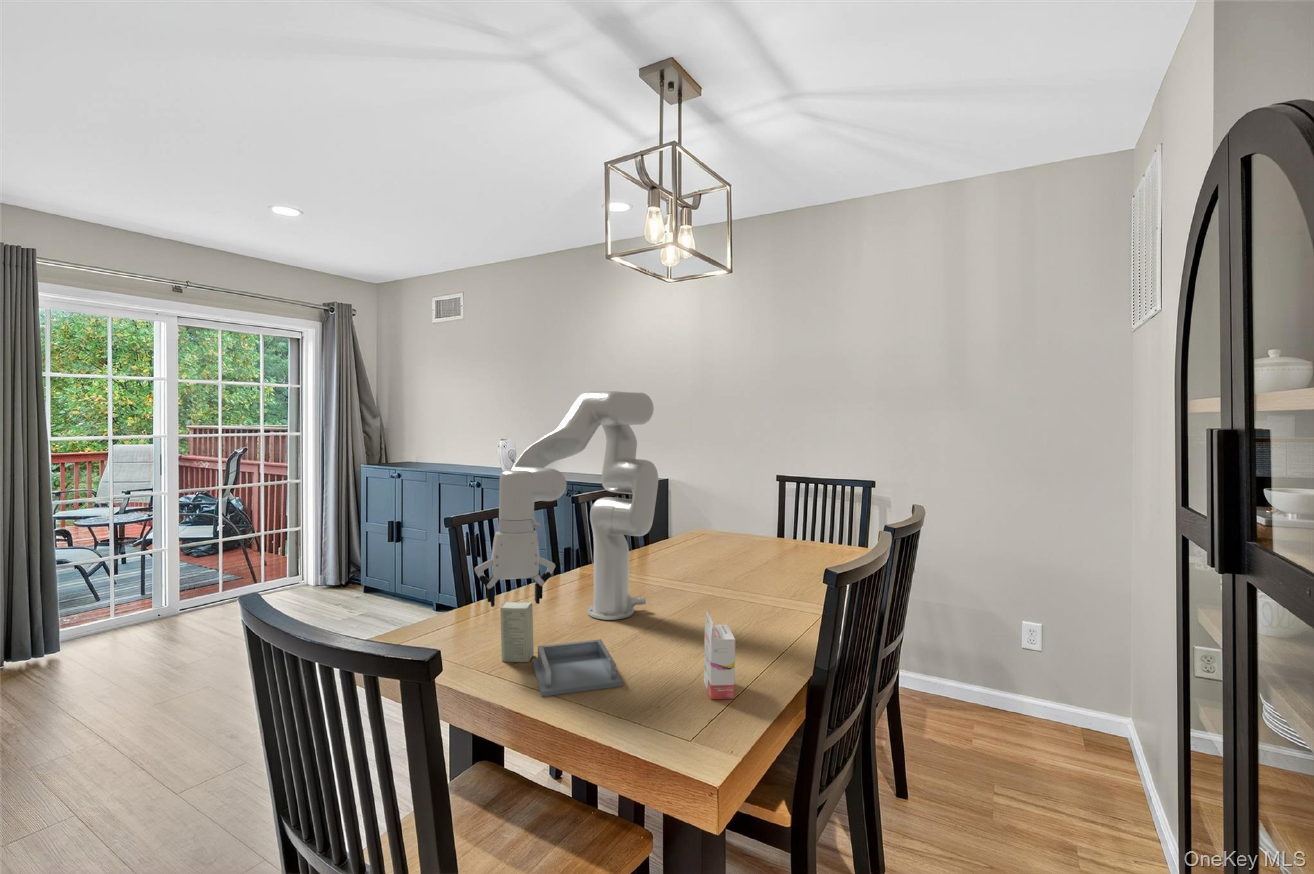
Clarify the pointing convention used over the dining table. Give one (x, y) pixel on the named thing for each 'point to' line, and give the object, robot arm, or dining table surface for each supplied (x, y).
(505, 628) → the skincare box
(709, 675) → the ink cartridge box
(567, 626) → the dining table surface
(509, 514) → the robot arm
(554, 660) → the tray
